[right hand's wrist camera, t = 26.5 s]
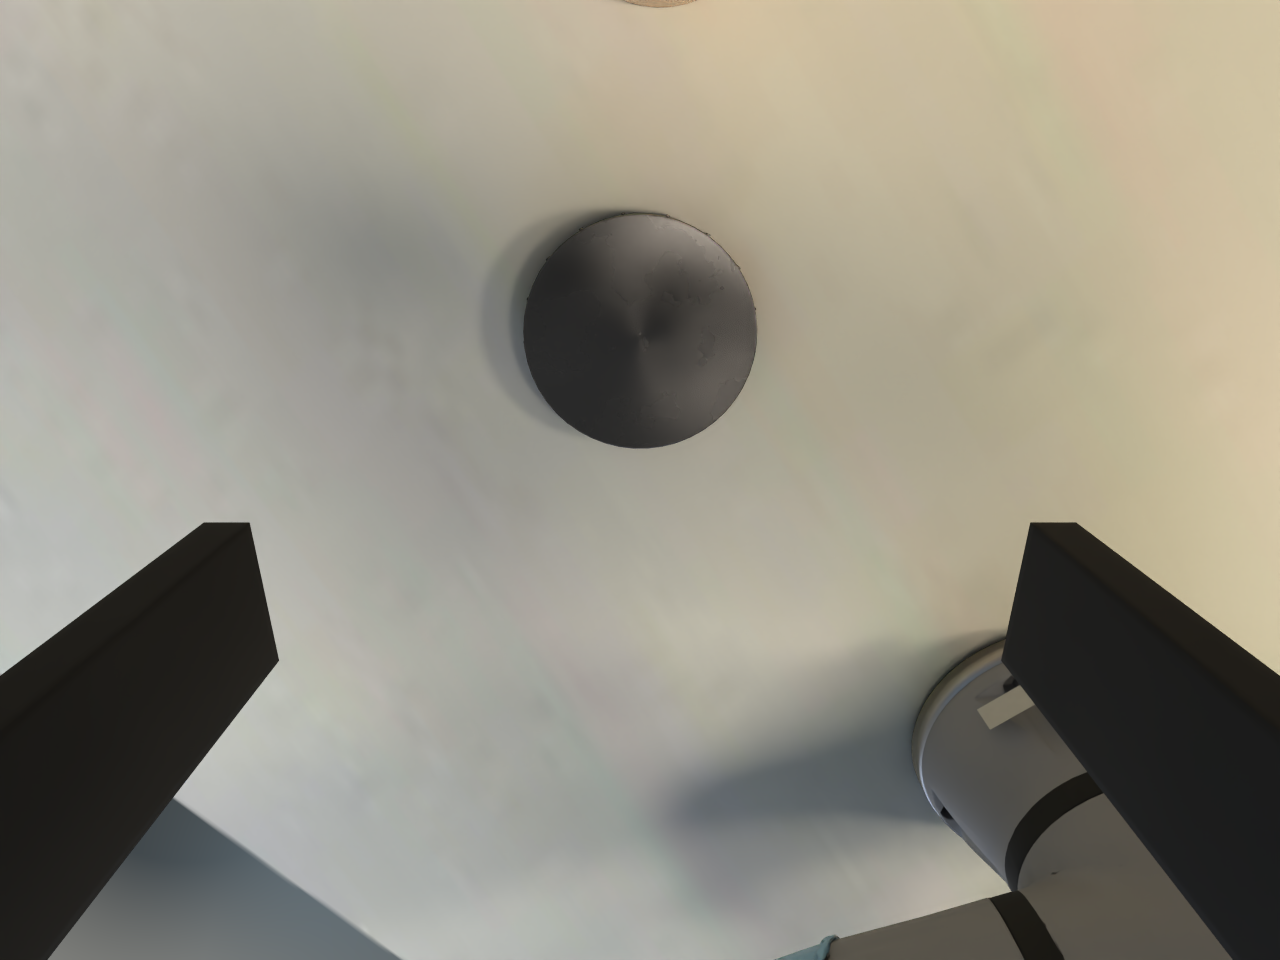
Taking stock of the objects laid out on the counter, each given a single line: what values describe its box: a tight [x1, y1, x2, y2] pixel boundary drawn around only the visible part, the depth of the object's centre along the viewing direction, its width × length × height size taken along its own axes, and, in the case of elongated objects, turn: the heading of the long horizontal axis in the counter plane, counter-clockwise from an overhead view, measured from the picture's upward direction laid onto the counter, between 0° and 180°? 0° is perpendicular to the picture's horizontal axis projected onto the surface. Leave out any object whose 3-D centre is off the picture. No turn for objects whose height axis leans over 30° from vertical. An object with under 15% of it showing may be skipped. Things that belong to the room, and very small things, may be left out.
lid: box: [523, 213, 757, 448], centre depth 35 cm, size 11×11×2 cm
